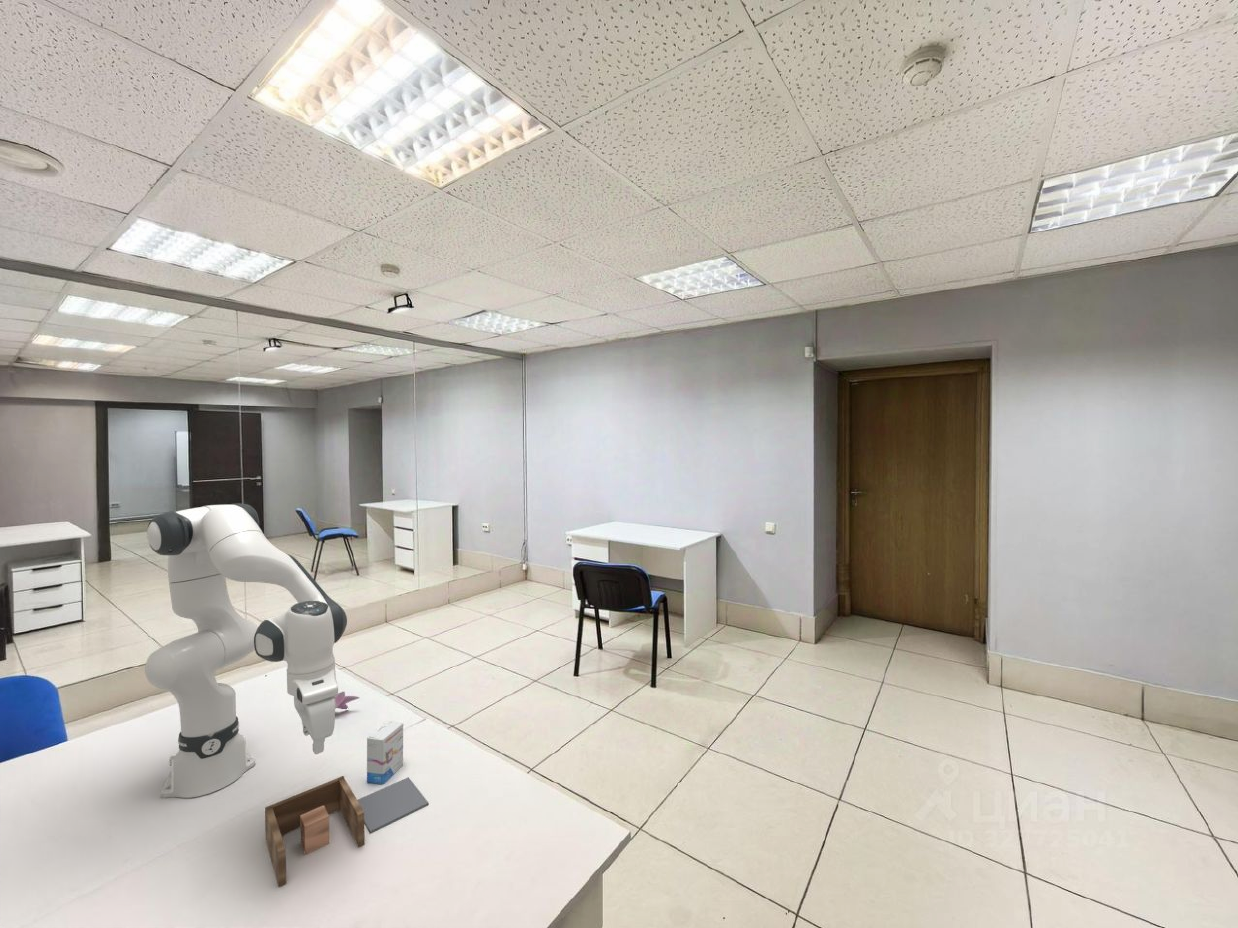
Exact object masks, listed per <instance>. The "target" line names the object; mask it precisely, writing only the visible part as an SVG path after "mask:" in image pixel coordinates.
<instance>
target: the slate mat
mask: <svg viewBox="0 0 1238 928" xmlns="http://www.w3.org/2000/svg"><path fill="white" fill-rule="evenodd" d="M357 801H358V802H359V804H360V806H361V808H362V809H363V811H364V826H365V827H366V828H367V831H368V832H369V834H372V833H374V832H376V831H378V830H380V829H382V828H384V827H387V826H389V825H391V824H393V823H395V822H396V821H399V820H401V819H402V818H406V817H407V816H408V815H411V814H413V813H416V812H417V811H418V810H421V809H422V808H425V807H427V806H429V804H430V803H429V802H428V800H427V799H426V798H425V796H424V794H423V793H421V791H420V790H419V789H418V787H417V786H416V785H415V784H414V782H413V781H412V779H410V777H409V776H407V777H405V778H404V779H401V780H399V781H397V782H394V783H392V784H390V785H387V786H385V787H383V788H380V789H378V790H377V791H374V792H371V793H369V794H367V795H365V796H363V797H361V798H358V799H357Z"/></svg>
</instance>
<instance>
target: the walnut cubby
mask: <svg viewBox="0 0 1238 928" xmlns="http://www.w3.org/2000/svg"><path fill="white" fill-rule="evenodd" d="M357 800H358V799H357V797H356V796H355V794H354V792H353V790H352V789H351V787H350V786H349V783H348V782H347V780H346V778H345V776H344V775H343V776H342V775H341V776H339V777H337V778H334V779H332V780H329V781H328V782H324V783H322V784H320V785H317V786H315V787H312V788H309V789H307V790H305V791H303V792H299V793H297V794H295V795H292V796H290V797H287V798H284V799H282V800H280V801H277V802H275V803H272V804H270V805H267V806H265V807H264V825H265V826H264V827H265V829H264V830H265V842H266V845H267V849H268V852H269V857H270V861H271V864H272V867H273V871H274V875H275V879H276V882H277V884H278V888H280V887H282V886H284V885H287V861H286V860H287V857H286V856H287V854H286V851H287V849H286V846H285V843H284V839H283V837H282V836H283V835H286V834H287V833H290V832H292V831H294V830H297V829H298V828H301V827H300V815H302V814H305V813H307V812H309V811H312V810H314V809H316V808H319V807H321V806H323V805H324V806H325V809H326V811H327V813H328V815H329V816H330V815H331V814H334V813H335V812H338V811H339V812H340V813H341V815H342V817H343V819H344V821H345V824H346V825H347V827H348V829H349V831H350V833H351V835H352V837H353V839H354V841H355V843H356V845H357V847H358V848H361V847H362V846H364V845H365V842H366V841H365V840H366V839H365V834H366V833H365V823H364V811H363V809H362V808H361V806H360V804H359V802H358V801H357Z"/></svg>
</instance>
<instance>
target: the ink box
mask: <svg viewBox="0 0 1238 928" xmlns="http://www.w3.org/2000/svg"><path fill="white" fill-rule="evenodd" d="M403 766H404V723H403V722H398V721H393V720H387V721H385V723H383V724H382V725H380V726H379V727H378V728H377V729H375V730H373V731H372V732H371V733H369V734H368V737H367V738H366V783H372V784H378V785H385V783H386V782H387V781H388V780H389V779H390V778H391V777H392V776H394V774H396V772H397V771H398V770H400V768H401V767H403Z"/></svg>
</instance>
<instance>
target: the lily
mask: <svg viewBox="0 0 1238 928" xmlns="http://www.w3.org/2000/svg"><path fill="white" fill-rule="evenodd" d="M334 697H335V710H336V709H339V710H343V709H347V708H348V709H349V707H348V704H349V703H351V702H352V701H355V700H358V699H360V697H359V696H355V695H346V691H341V692H338V695H336V696H334Z"/></svg>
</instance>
